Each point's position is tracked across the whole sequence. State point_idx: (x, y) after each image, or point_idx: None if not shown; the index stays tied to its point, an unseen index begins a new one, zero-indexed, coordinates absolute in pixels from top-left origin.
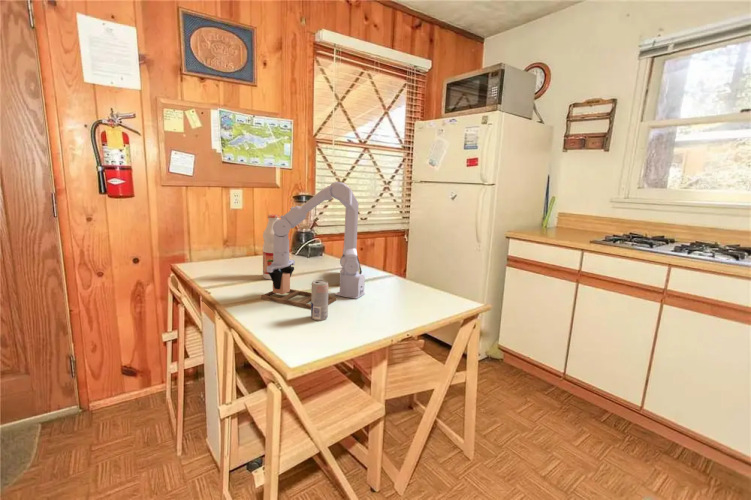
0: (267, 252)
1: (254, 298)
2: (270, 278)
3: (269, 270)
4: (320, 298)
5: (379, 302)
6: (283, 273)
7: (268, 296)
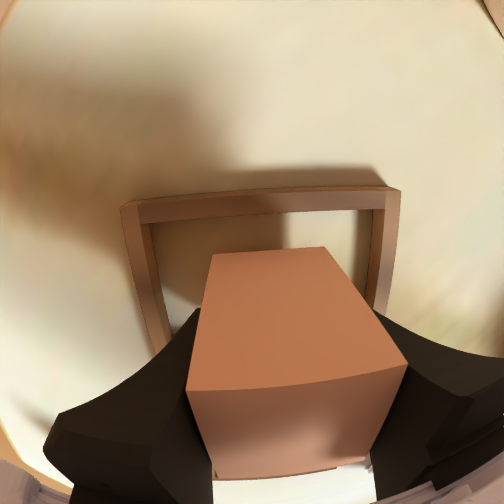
0: None
1: (101, 158)
2: (491, 8)
3: (21, 499)
4: None
5: (359, 490)
6: (342, 435)
7: (136, 274)
